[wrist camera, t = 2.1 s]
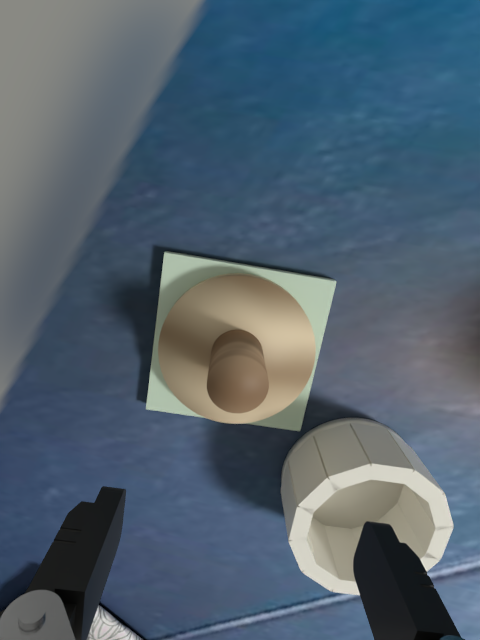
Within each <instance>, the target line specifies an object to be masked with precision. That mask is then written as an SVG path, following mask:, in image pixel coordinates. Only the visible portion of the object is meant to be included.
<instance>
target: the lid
mask: <svg viewBox="0 0 480 640" xmlns="http://www.w3.org/2000/svg"><path fill="white" fill-rule="evenodd" d="M315 354H316V345H315V337H314V333H313V329H312V326H311V324H310V321H309V319H308V317H307V315H306V314H305V312H304V310H303V309H302V307H301V306H300V304H299V303H298V302H297V301H296V299H295V298H294V297H293V296H292V295H291V294H290V293H289V292H288V291H287V290H285V289H284V288H282V287H281V286H280V285H278V284H276V283H274V282H272V281H271V280H268V279H266V278H263V277H260V276H256V275H252V274H244V273H229V274H223V275H218V276H214V277H211V278H208V279H206V280H204V281H201V282H199V283H198V284H196V285H195V286H193V287H191V288H190V289H189V290H188V291H186V292H185V293H184V294H183V295H182V296H181V297H180V298H179V299H178V300H177V301H176V303H175V304H174V306H173V307H172V308H171V310H170V312H169V313H168V315H167V317H166V319H165V321H164V323H163V326H162V329H161V332H160V337H159V342H158V357H159V364H160V368H161V372H162V374H163V377H164V380H165V381H166V383H167V385H168V387H169V389H170V390H171V391H172V393H173V394H174V395H175V396H176V398H177V399H178V400H179V401H180V402H181V403H182V404H184V405H185V406H186V407H187V408H189V409H190V410H192V411H193V412H195V413H196V414H198V415H200V416H203V417H205V418H207V419H210V420H213V421H217V422H222V423H230V424H244V423H251V422H256V421H260V420H263V419H266V418H268V417H271V416H273V415H275V414H277V413H278V412H280V411H282V410H283V409H285V408H286V407H287V406H289V405H290V404H291V403H292V402H293V401H294V400H295V399H296V398H297V397H298V396H299V394H300V393H301V392H302V391H303V389H304V388H305V386H306V384H307V382H308V380H309V378H310V376H311V373H312V370H313V367H314V362H315Z"/></svg>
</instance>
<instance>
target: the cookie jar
mask: <svg viewBox="0 0 480 640" xmlns="http://www.w3.org/2000/svg"><path fill="white" fill-rule="evenodd" d="M87 640H143V639H142V638H140V637H139V636H138V635H137V634H135V633H134V632H133V631H131V630H130V629H129V628H128V627H126V626H125V625H124V624H123V623H121V622H120V621H119V620H118V619H116V618H115V617H114V616H113V615H111V614H110V613H109V612H108V611H106V610H105V609H104V608H103V607H101V606H100V605H98V608H97V611H96V614H95V617H94V620H93V623H92V626H91V629H90V632H89V635H88V638H87Z"/></svg>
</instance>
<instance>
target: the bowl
mask: <svg viewBox="0 0 480 640" xmlns="http://www.w3.org/2000/svg"><path fill="white" fill-rule="evenodd" d="M281 484H282V485H281V497H282V503H283V509H284V516H285V522H286V528H287V534H288V540H289V544H290V546H291V548H292V551H293V553H294V556H295V558H296V560H297V563H298V565H299V567H300V570H301V571H302V573H304V574H305V575H307V576H308V577H310V578H311V579H313V580H314V581H316V582H317V583H319V584H320V585H322V586H323V587H325V588H326V589H328V590H329V591H332V592H337V593H345V594H354V595H360V593H359V590H358V587H357V584H356V581H355V577H354V572H353V559H354V555H355V551H356V548H357V545H358V542H359V539H360V535H361V532H362V529H363V526H364V524H365V522H366V521H370V522H378V523H386V524H390V525H391V526H392V528H393V530H394V532H395V534H396V536H397V538H398V540H399V542H401V543H406V544H407V545H408V546H409V547H410V548H411V549H412V550H413V551H414V552H415V554H416V555H417V556H418V557H419V558H420V560H421V562H422V564H423V566H424V568H425V570H426V572H427V571H428V570H429V569H430V568H432V567H433V566H434V565H435V564H437V563H438V562H439V561H440V560H439V559H441V558H442V555H443V553H444V550H445V548H446V545H447V543H448V540H449V538H450V535H451V533H452V530H453V522H452V518H451V514H450V510H449V507H448V503H447V499H446V495H445V493H444V492H443V490H442V489H441V488H440V486H439V485H438V483H437V482H436V481H435V479H434V478H433V477H432V475H431V474H430V472H429V471H428V470H427V468H426V467H425V466H424V464H423V463H422V461H421V460H420V459H419V457H418V456H417V455H416V453H415V452H414V450H413V449H412V448H411V447H410V446H409V445H407V444H406V443H405V442H404V441H403V439H402V438H401V437H400V436H399V435H398V434H397V433H396V432H395V431H393V430H392V429H391V428H389V427H388V426H386V425H384V424H382V423H379V422H376V421H373V420H369V419H365V418H342V419H336V420H332V421H328V422H326V423H323V424H321V425H319V426H317V427H315V428H313V429H311V430H310V431H308V432H307V433H305V434H304V435H303V436H302V437H301V438H300V439H299V440H298V441H297V442H296V443H295V444H294V445H293V446H292V448H291V449H290V451H289V452H288V454H287V456H286V458H285V461H284V464H283V467H282V473H281Z"/></svg>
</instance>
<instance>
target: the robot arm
mask: <svg viewBox="0 0 480 640" xmlns="http://www.w3.org/2000/svg"><path fill="white" fill-rule="evenodd" d="M125 496H126V489H120V488H112V487H104V486H103V487H102V488H101V490H100V492H99V494H98V496H97V498H96V501H95V503H89V502H80V503H79V504H78V505H77V506H76V507H75V508H74V509H72V510H71V511H70V512H69V513H68V515H67V516H66V518H65V520H64V522H63V524H62V526H61V528H60V530H59V531H58V533H57V535H56V537H55V539H54V542H53V543H52V545H51V546H50V548H49V550H48V552H47V554H46V556H45V558H44V559H43V561H42V563H41V565H40V567H39V569H38V571H37V573H36V574H35V576H34V578H33V580H32V582H31V584H30V586H29V587H28V589H27V591H26V592H25V593H24V595H22V596H20V597H18V598H17V599H15V600H14V601H13V602H12V603H11V604H10V605H9V606H8V607H7V608H6V609H5V610H3V611H1V612H0V640H87V638H88V635H89V632H90V629H91V626H92V623H93V620H94V617H95V614H96V611H97V608H98V605H99V602H100V599H101V596H102V593H103V590H104V587H105V584H106V581H107V578H108V575H109V572H110V569H111V566H112V563H113V560H114V557H115V554H116V551H117V548H118V545H119V541H120V537H121V532H122V525H123V515H124V506H125ZM353 572H354V577H355V581H356V584H357V587H358V590H359V593H360V596H361V599H362V602H363V605H364V609H365V612H366V615H367V618H368V621H369V624H370V627H371V630H372V633H373V636H374V639H375V640H465V639H463V638H461V636H460V634H459V632H458V631H457V629H456V627H455V625H454V623H453V621H452V619H451V617H450V615H449V613H448V612H447V610H446V608H445V606H444V604H443V602H442V600H441V598H440V596H439V594H438V593H437V591H436V589H434V585H433V583H432V581H431V579H430V577H429V576H427V572H426V570H425V568H424V566H423V564H422V562H421V560H420V558H419V557H418V556H417V555H416V554H415V552H414V551H413V550H412V549H411V548H410V547H409V546H408V545H407V544H406V543H401V542H399V540H398V538H397V536H396V534H395V532H394V530H393V528H392V526H391V525H390V524H386V523H378V522H370V521H366V522H365V524H364V526H363V529H362V532H361V535H360V539H359V542H358V545H357V548H356V551H355V555H354V559H353Z"/></svg>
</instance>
